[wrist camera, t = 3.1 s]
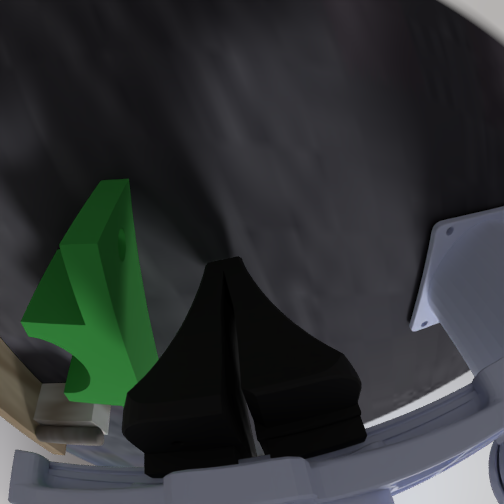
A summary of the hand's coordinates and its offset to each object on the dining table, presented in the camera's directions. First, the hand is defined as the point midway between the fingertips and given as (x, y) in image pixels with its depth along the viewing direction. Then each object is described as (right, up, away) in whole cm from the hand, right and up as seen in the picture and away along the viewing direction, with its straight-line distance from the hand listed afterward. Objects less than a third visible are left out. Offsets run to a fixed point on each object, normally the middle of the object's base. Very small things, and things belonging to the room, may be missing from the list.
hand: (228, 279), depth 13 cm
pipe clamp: (-6, -1, +1) cm, 6 cm away
